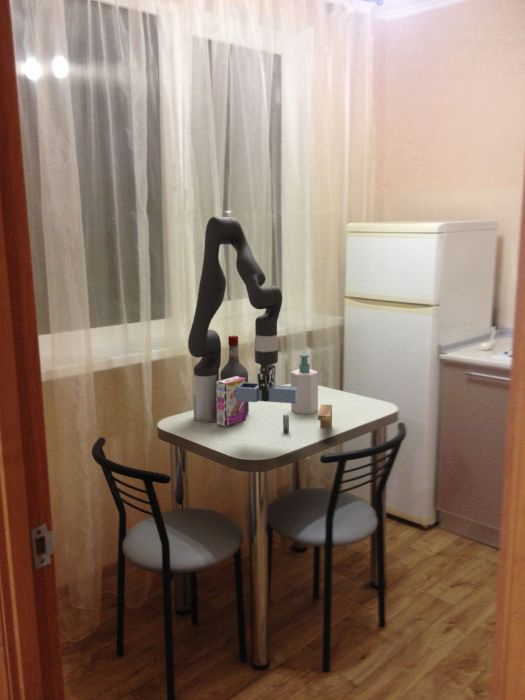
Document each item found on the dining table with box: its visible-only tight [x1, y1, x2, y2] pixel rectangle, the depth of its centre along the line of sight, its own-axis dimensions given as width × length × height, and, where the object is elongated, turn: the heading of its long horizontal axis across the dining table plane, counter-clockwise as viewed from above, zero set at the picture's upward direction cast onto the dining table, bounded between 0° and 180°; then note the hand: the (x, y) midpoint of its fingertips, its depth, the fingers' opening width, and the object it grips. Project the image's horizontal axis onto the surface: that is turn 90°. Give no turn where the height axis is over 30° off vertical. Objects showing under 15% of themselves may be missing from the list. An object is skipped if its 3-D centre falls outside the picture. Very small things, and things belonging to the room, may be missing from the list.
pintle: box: [282, 414, 290, 434], centre depth 223 cm, size 2×2×6 cm
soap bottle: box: [290, 353, 319, 415], centre depth 246 cm, size 10×9×22 cm
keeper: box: [317, 404, 333, 429], centre depth 222 cm, size 4×13×8 cm, turn 171°
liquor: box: [219, 335, 250, 415], centre depth 242 cm, size 9×9×30 cm
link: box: [236, 382, 298, 404], centre depth 210 cm, size 20×7×4 cm, turn 75°
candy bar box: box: [216, 376, 247, 428], centre depth 233 cm, size 11×5×16 cm, turn 141°
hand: (266, 398), depth 211 cm, fingers closed on link, 4 cm apart
